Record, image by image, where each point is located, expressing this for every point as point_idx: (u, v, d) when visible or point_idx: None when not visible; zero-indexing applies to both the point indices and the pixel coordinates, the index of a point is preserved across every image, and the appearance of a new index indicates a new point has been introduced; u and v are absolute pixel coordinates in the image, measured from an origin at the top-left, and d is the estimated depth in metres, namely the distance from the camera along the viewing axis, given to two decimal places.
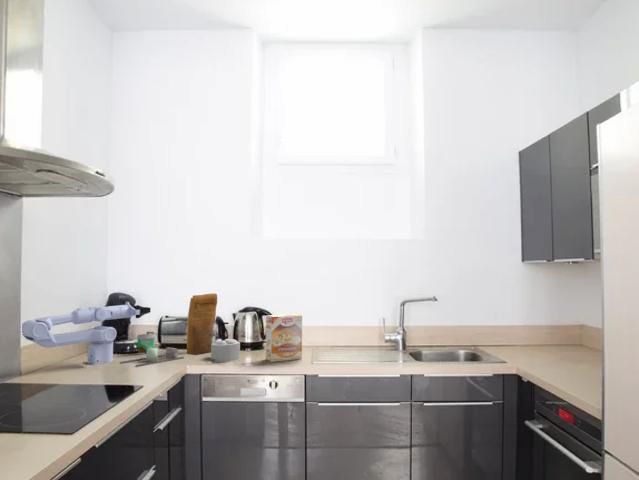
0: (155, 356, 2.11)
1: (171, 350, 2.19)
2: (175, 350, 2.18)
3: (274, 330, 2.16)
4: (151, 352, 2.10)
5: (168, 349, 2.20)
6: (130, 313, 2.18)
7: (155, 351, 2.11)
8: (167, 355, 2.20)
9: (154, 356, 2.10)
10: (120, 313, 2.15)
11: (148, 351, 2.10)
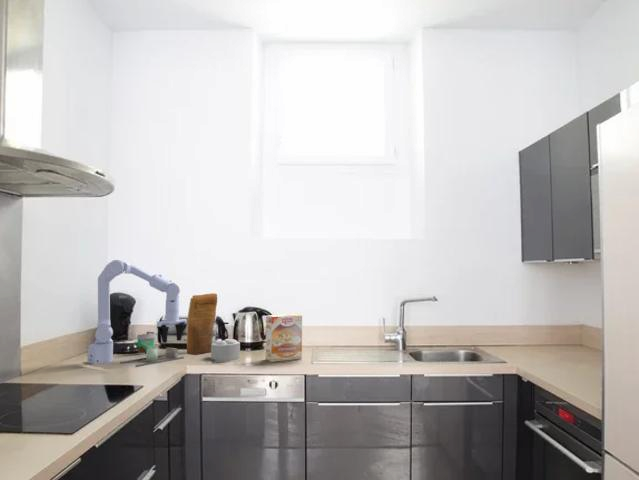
0: (155, 356, 2.11)
1: (171, 350, 2.19)
2: (175, 350, 2.18)
3: (274, 330, 2.16)
4: (151, 352, 2.10)
5: (168, 349, 2.20)
6: (165, 321, 2.19)
7: (155, 351, 2.11)
8: (167, 355, 2.20)
9: (154, 356, 2.10)
10: (166, 310, 2.19)
11: (148, 351, 2.10)
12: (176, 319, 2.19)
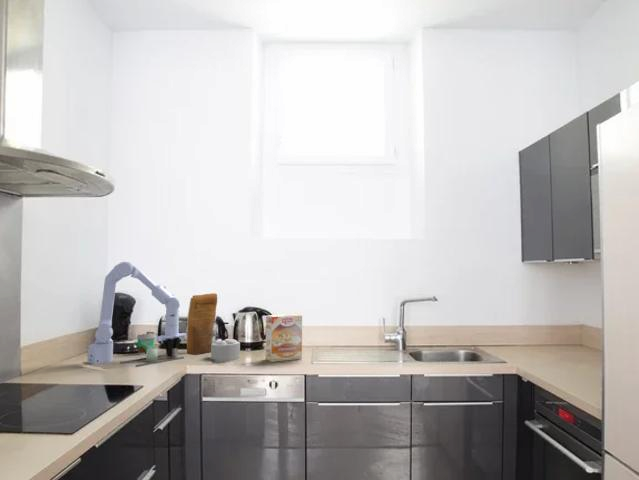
0: (155, 356, 2.11)
1: None
2: (175, 350, 2.18)
3: (274, 330, 2.16)
4: (151, 352, 2.10)
5: None
6: (165, 335, 2.18)
7: (155, 351, 2.11)
8: None
9: (154, 356, 2.10)
10: (166, 324, 2.18)
11: (148, 351, 2.10)
12: (176, 333, 2.19)
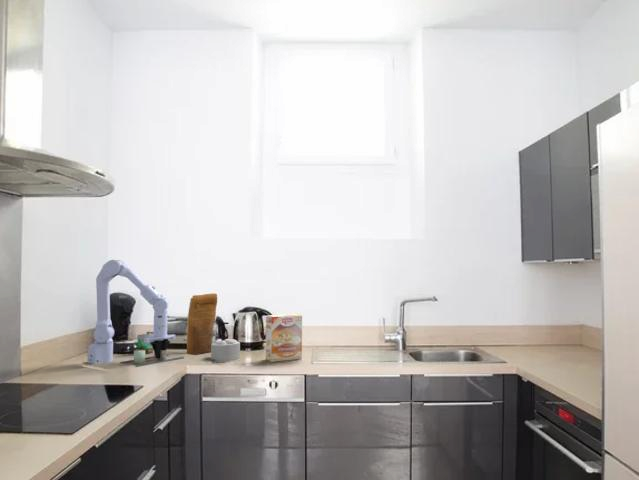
0: (143, 358, 2.06)
1: None
2: (163, 352, 2.13)
3: (274, 330, 2.16)
4: (138, 354, 2.05)
5: None
6: (153, 337, 2.13)
7: (143, 353, 2.06)
8: (155, 357, 2.15)
9: (141, 358, 2.05)
10: (154, 326, 2.14)
11: (135, 353, 2.05)
12: (164, 335, 2.14)
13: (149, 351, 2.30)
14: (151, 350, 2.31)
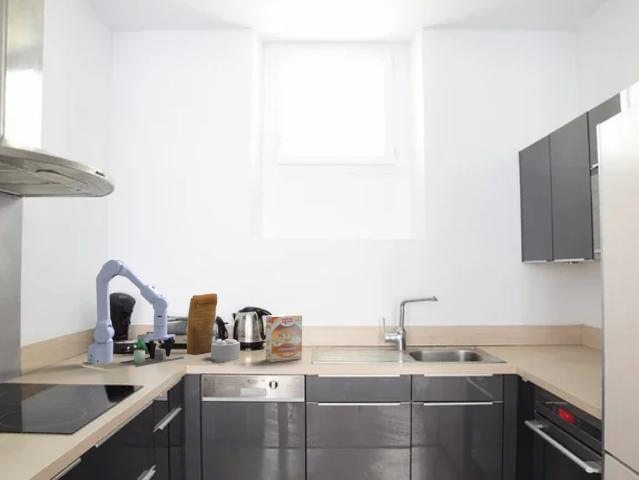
0: (143, 358, 2.06)
1: (159, 352, 2.14)
2: (163, 352, 2.13)
3: (274, 330, 2.16)
4: (138, 354, 2.05)
5: (156, 351, 2.15)
6: (153, 336, 2.13)
7: (143, 353, 2.06)
8: (155, 357, 2.15)
9: (141, 358, 2.05)
10: (154, 325, 2.14)
11: (135, 353, 2.05)
12: (164, 335, 2.14)
13: None
14: None
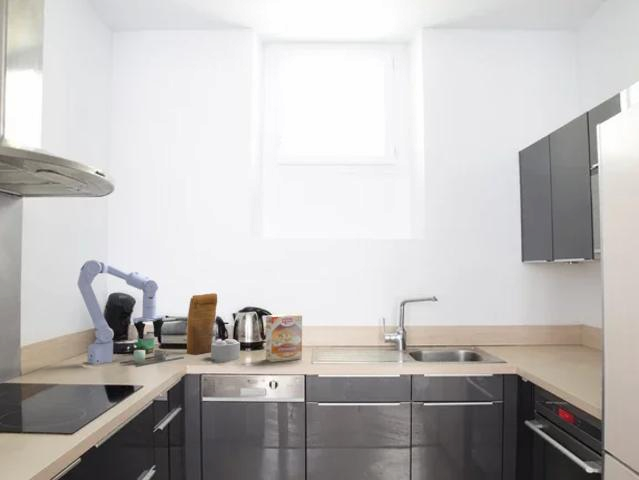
0: (143, 358, 2.06)
1: (159, 352, 2.14)
2: (163, 352, 2.13)
3: (274, 330, 2.16)
4: (138, 354, 2.05)
5: (156, 351, 2.15)
6: (142, 317, 2.20)
7: (143, 353, 2.06)
8: (155, 357, 2.15)
9: (141, 358, 2.05)
10: (143, 307, 2.20)
11: (135, 353, 2.05)
12: (153, 316, 2.20)
13: (149, 351, 2.30)
14: (151, 350, 2.31)
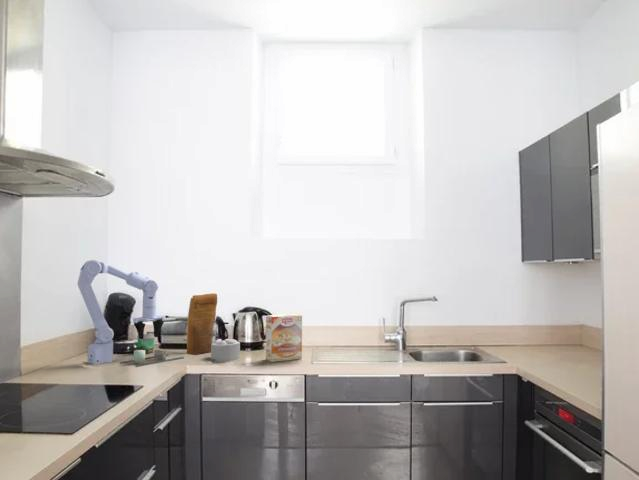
0: (143, 358, 2.06)
1: (159, 352, 2.14)
2: (163, 352, 2.13)
3: (274, 330, 2.16)
4: (138, 354, 2.05)
5: (156, 351, 2.15)
6: (142, 317, 2.20)
7: (143, 353, 2.06)
8: (155, 357, 2.15)
9: (141, 358, 2.05)
10: (143, 307, 2.20)
11: (135, 353, 2.05)
12: (153, 316, 2.20)
13: (149, 351, 2.30)
14: (151, 350, 2.31)
